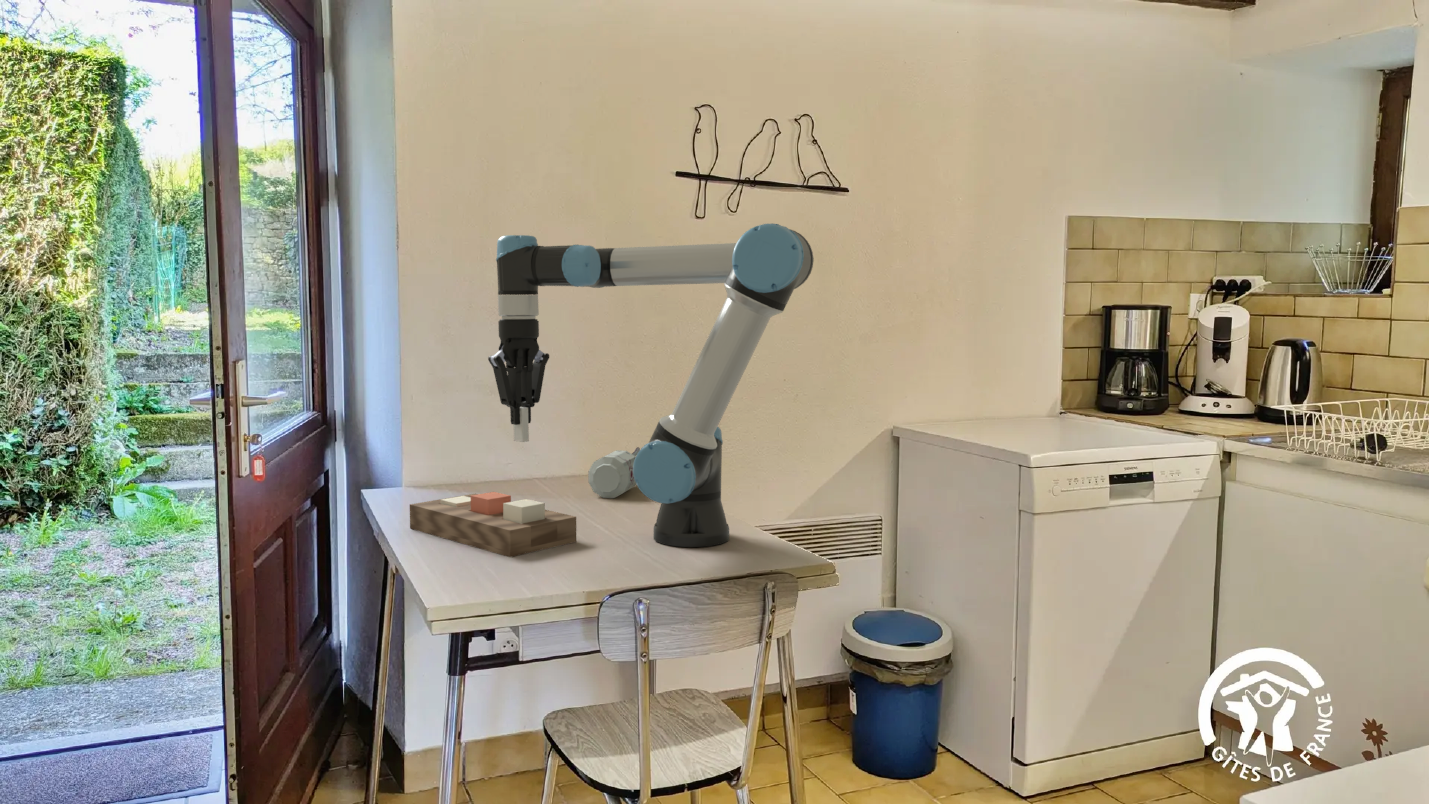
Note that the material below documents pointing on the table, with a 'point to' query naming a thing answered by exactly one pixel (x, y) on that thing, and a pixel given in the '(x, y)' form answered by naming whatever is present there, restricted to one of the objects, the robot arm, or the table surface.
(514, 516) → the button front
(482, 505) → the button middle
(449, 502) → the button back
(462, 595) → the table surface
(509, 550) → the wooden button box
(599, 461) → the device
